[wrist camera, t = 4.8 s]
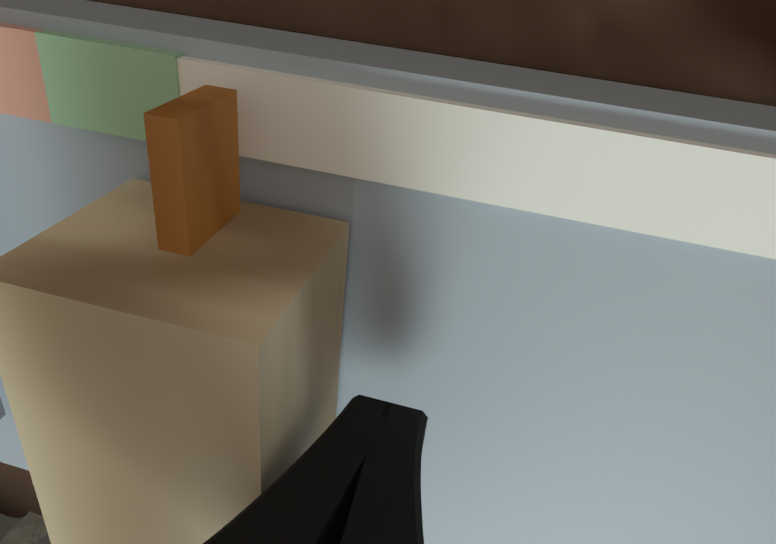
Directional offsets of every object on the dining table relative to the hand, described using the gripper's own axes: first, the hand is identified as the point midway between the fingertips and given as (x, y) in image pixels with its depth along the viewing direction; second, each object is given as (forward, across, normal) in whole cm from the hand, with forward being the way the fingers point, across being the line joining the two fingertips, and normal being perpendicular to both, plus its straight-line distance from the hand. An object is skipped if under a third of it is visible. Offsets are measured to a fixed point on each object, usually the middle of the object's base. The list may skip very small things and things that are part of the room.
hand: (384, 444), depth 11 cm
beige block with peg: (+1, +3, -1) cm, 4 cm away
